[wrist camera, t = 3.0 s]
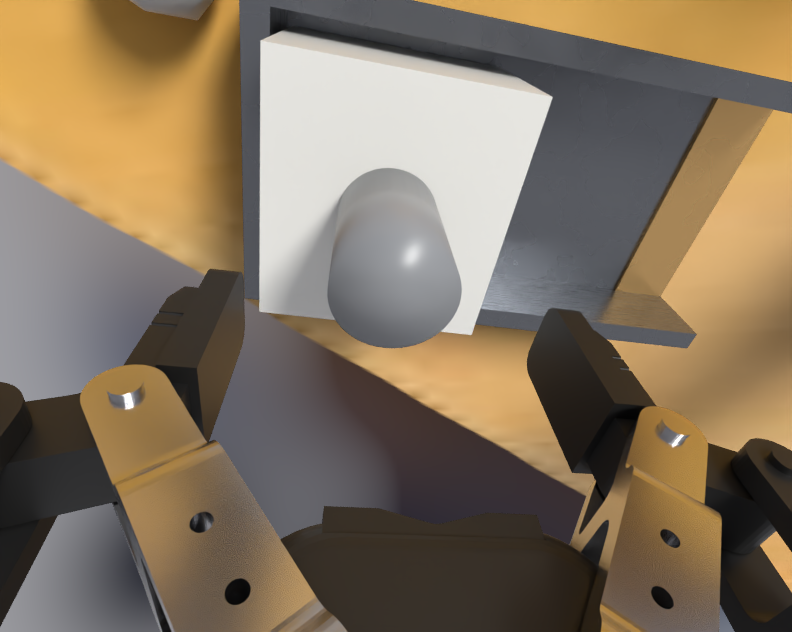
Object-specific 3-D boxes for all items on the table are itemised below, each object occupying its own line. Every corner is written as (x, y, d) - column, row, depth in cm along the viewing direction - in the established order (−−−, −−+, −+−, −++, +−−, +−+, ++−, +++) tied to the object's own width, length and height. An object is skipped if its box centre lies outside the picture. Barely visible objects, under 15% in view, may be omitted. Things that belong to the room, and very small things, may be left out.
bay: (266, -31, 19) (238, -38, 15) (770, 78, 22) (862, 97, 18) (263, 250, 26) (244, 298, 22) (642, 299, 29) (687, 348, 25)
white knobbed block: (292, 25, 19) (209, 62, 9) (499, 67, 20) (630, 140, 10) (284, 236, 24) (227, 406, 14) (447, 258, 25) (499, 428, 16)
